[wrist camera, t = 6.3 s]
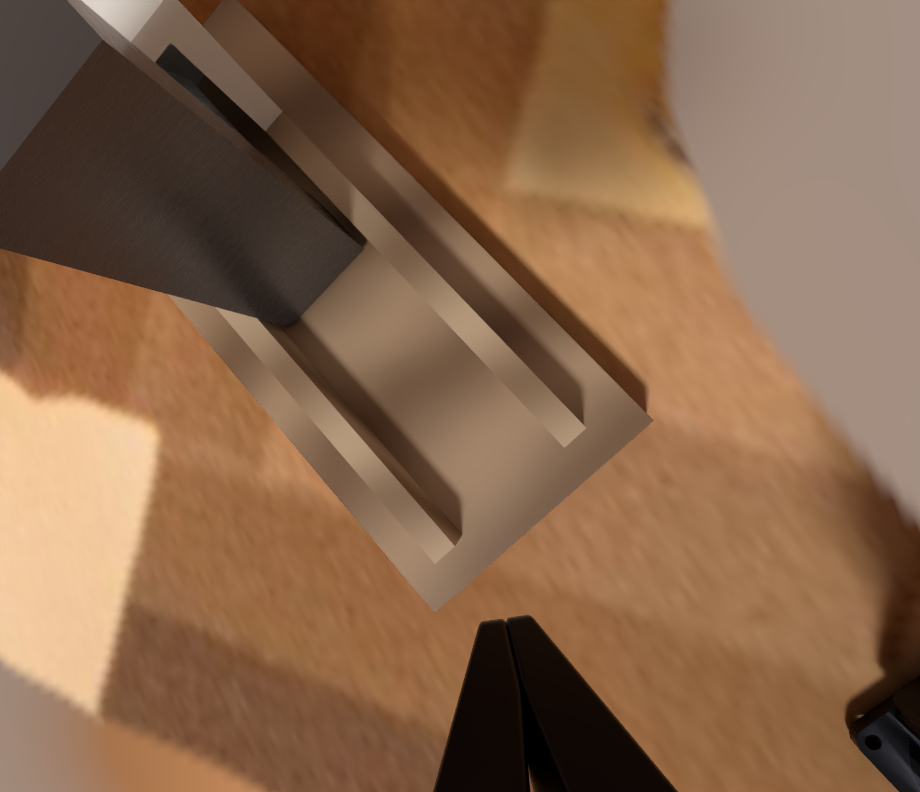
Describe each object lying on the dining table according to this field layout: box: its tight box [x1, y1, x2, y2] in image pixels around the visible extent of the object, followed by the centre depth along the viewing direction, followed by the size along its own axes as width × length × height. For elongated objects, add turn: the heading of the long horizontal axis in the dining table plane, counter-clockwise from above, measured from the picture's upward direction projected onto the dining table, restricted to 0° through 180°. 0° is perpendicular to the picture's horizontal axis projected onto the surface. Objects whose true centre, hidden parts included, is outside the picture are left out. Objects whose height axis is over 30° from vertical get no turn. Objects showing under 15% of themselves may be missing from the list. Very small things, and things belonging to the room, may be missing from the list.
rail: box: [167, 0, 654, 613], centre depth 19 cm, size 25×11×3 cm, turn 44°
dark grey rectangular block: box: [0, 0, 364, 327], centre depth 14 cm, size 10×4×11 cm, turn 44°
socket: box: [81, 0, 282, 131], centre depth 17 cm, size 6×7×7 cm
